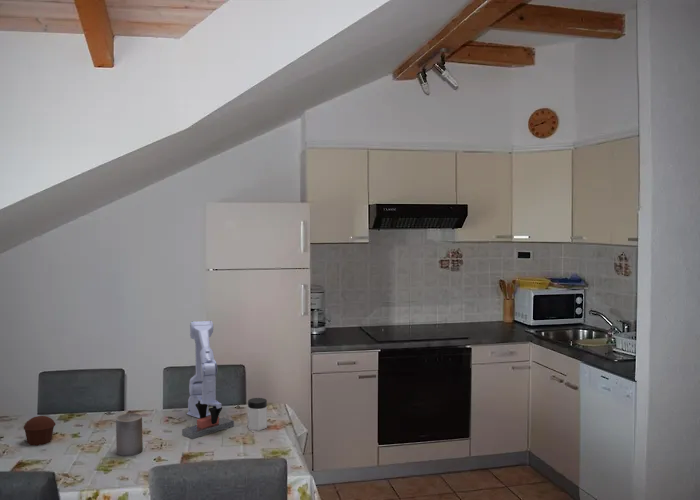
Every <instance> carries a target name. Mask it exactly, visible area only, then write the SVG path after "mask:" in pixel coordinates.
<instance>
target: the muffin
mask: <svg viewBox="0 0 700 500" xmlns="http://www.w3.org/2000/svg"><path fill="white" fill-rule="evenodd" d="M55 426H56V422H55V420H54V419H53V418H51V417H49V416H46V415H37V416H33V417H32V418H30V419H28V420H27V421H26V422H25V424H24V425H23V430H24V432H25V439H26V444H27V445H29V446H42V445H47V444H49V443H51V441H52V440H53V434H54V428H55Z"/></svg>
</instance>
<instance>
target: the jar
mask: <svg viewBox="0 0 700 500" xmlns="http://www.w3.org/2000/svg"><path fill="white" fill-rule="evenodd" d="M267 405H268V400H267V399H266V398H263V397H252V398H249V399H248V400H247V428H248V430H249V431H252V430H253V431H262V430H266V429H267V428H268V406H267ZM265 428H266V429H265Z"/></svg>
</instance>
